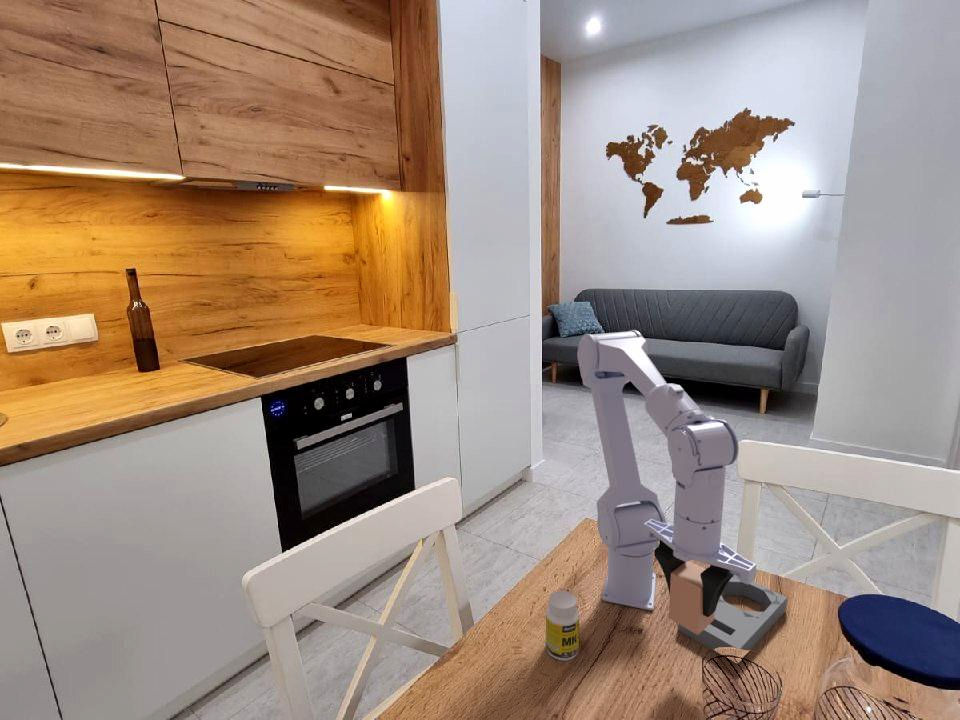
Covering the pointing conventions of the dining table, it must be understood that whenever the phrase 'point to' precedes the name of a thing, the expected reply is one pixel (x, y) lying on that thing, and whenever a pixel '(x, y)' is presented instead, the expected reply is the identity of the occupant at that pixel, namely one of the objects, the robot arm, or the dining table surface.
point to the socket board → (741, 618)
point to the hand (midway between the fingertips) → (692, 603)
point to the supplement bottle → (562, 626)
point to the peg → (688, 598)
